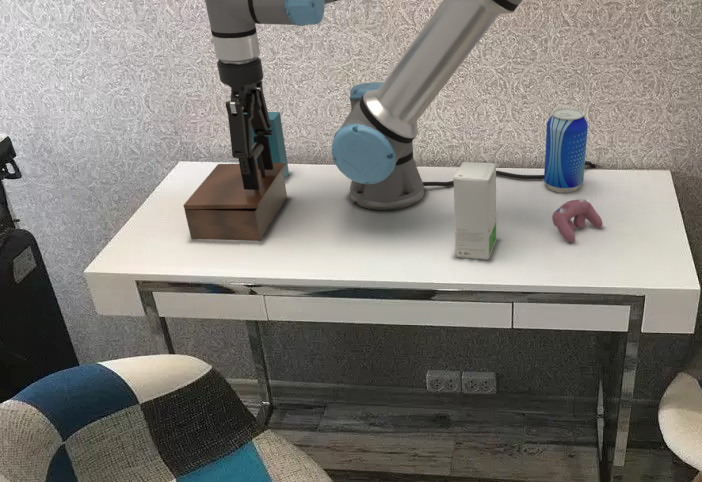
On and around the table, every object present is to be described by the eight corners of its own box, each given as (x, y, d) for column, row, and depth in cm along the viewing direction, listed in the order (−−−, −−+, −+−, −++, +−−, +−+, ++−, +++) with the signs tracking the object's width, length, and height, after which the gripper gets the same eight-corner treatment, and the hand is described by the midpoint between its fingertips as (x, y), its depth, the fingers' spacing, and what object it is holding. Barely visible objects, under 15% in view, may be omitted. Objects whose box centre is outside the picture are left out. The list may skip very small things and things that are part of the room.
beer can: (556, 174, 174) (561, 103, 165) (590, 184, 170) (596, 111, 161) (536, 187, 169) (539, 114, 160) (570, 197, 165) (575, 123, 156)
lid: (286, 166, 160) (279, 129, 155) (258, 208, 144) (249, 168, 139) (219, 167, 161) (209, 130, 156) (184, 209, 145) (173, 169, 140)
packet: (289, 173, 174) (279, 111, 166) (283, 182, 171) (273, 119, 163) (255, 173, 175) (244, 111, 167) (249, 181, 171) (238, 118, 163)
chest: (287, 199, 164) (282, 169, 160) (260, 243, 148) (254, 211, 144) (225, 197, 164) (219, 167, 161) (191, 241, 149) (184, 209, 145)
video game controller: (588, 229, 157) (578, 195, 155) (606, 226, 153) (596, 191, 151) (555, 245, 151) (545, 210, 149) (573, 243, 147) (562, 207, 146)
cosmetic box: (488, 261, 143) (489, 181, 134) (452, 257, 144) (451, 177, 135) (497, 239, 150) (498, 162, 141) (463, 236, 151) (462, 159, 142)
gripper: (236, 41, 147) (256, 156, 160) (195, 76, 129) (221, 202, 142) (276, 42, 147) (292, 157, 160) (240, 77, 129) (262, 203, 142)
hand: (259, 178), depth 151 cm, fingers open, 9 cm apart
